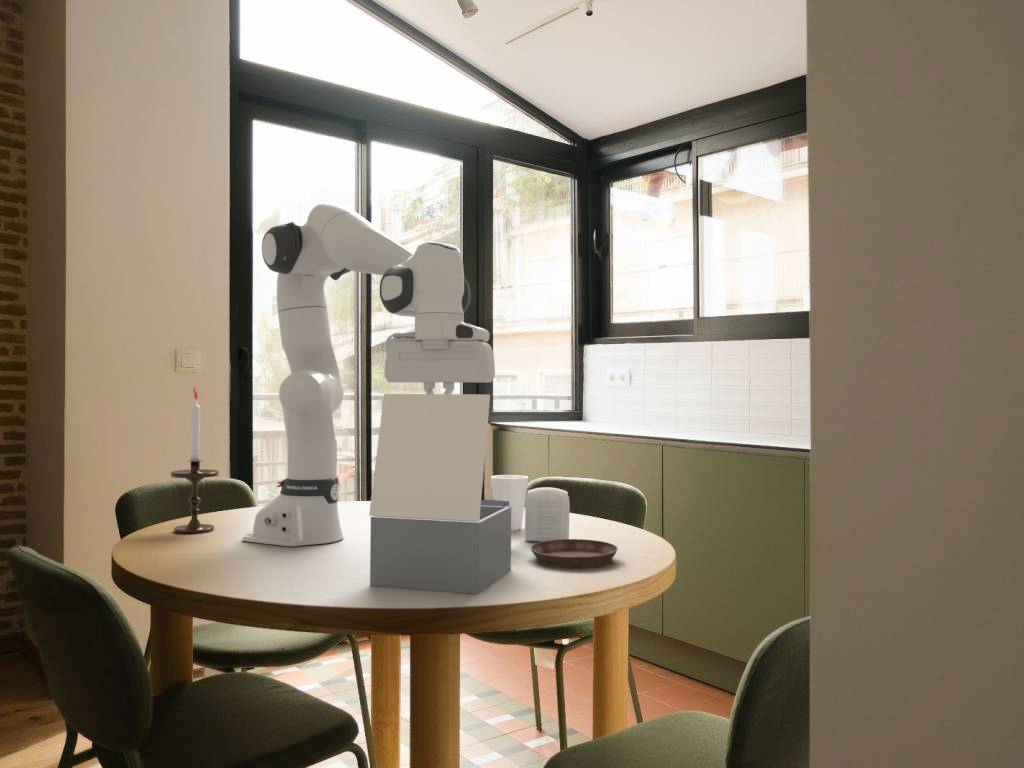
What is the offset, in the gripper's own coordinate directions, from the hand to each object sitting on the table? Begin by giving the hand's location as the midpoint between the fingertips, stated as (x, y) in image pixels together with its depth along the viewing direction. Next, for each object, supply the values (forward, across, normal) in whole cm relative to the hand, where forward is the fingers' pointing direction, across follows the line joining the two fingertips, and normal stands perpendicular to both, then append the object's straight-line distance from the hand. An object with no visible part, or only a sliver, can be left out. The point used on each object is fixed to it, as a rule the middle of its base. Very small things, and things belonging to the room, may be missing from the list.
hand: (438, 408), depth 142 cm
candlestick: (+31, -75, +32) cm, 87 cm away
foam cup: (+31, -3, +58) cm, 66 cm away
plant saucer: (+32, +20, +25) cm, 45 cm away
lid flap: (+8, 0, -4) cm, 9 cm away
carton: (+31, 0, +4) cm, 31 cm away
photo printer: (+31, +10, +44) cm, 55 cm away
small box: (+31, +1, +30) cm, 43 cm away
